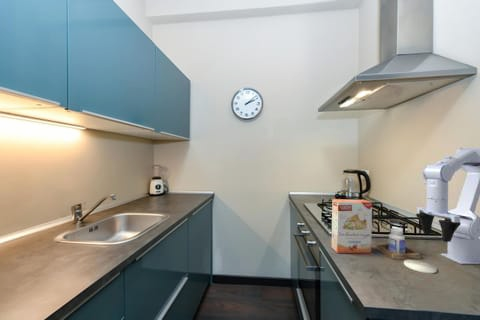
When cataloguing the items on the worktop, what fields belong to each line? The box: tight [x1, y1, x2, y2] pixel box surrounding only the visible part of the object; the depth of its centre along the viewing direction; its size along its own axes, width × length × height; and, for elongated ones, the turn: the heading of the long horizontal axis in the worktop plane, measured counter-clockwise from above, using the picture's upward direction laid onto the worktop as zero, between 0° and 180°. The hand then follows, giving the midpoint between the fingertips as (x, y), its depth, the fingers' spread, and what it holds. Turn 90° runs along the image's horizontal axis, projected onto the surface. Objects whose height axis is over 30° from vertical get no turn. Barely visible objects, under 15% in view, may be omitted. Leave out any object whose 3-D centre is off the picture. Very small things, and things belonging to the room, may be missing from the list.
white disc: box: [403, 259, 438, 274], centre depth 78 cm, size 9×9×1 cm
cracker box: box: [331, 198, 373, 254], centre depth 92 cm, size 14×6×21 cm, turn 91°
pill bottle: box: [388, 227, 406, 254], centre depth 89 cm, size 5×5×10 cm
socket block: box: [374, 243, 422, 261], centre depth 89 cm, size 11×11×2 cm
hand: (436, 237), depth 78 cm, fingers open, 7 cm apart
